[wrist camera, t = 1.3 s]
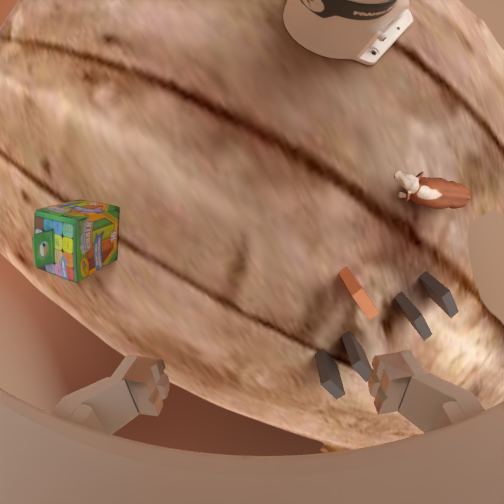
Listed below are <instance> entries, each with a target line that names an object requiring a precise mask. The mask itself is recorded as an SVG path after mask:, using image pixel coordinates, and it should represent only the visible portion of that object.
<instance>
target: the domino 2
mask: <svg viewBox="0 0 504 504" xmlns="http://www.w3.org/2000/svg"><path fill="white" fill-rule="evenodd" d="M339 274H340V276H341V278H342V280H343V281H344V283H345V285H346V287H347V288H348V290H349V292H350V294H351V295H352V297H353V298H354V300H355V301H356V302H357V304H358V305H359V306H360V308H361V309H362V310H363V312H364V313H365V314H366V316H367V317H368V319H369V320H371V319H372V318H373V317H375V316H376V315H377V314H379V312H378V310H377V309H376V307H375V306H374V304H373V303H372V301H371V300H370V298H369V297H368V295H367V294H366V292H365V291H364V289H363V288H362V286H361V285H360V284H359V282H358V281H357V279H356V278H355V277H354V275H353V274H352V273H351V271H350V270H349V269H348V267H346V268H345V269H343V270H342V271H341V272H340V273H339Z"/></svg>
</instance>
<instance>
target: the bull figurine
mask: <svg viewBox="0 0 504 504" xmlns="http://www.w3.org/2000/svg"><path fill="white" fill-rule="evenodd" d="M423 173H424V172H421V173H419V174H418V175H417V176H416V177H415V176H414V175H412V174H404V173H402V172H401V171H397V172H396V173H395V174H394V179H395V180H396V181H397V182H399V183H400V184H401V185H402V186H403V187H404V188H405V189H406V190H407V194H406V193H404V192H398V194H397V196H398V197H399V198H405V197H406V201H408V199H411V200H412V201H413V202H415V203H417V204H419V205H423V206H428V207H432V208H437V209H443V208H448V207H449V208H460V207H464V206H466V205H467V203H468V200H470V199H471V196H469V192H468V189H467V188H465V187H464V186H463V185H462V184H459V183H456V182H453V181H446V180H444V179H442V178H426V177H422V175H423Z"/></svg>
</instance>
